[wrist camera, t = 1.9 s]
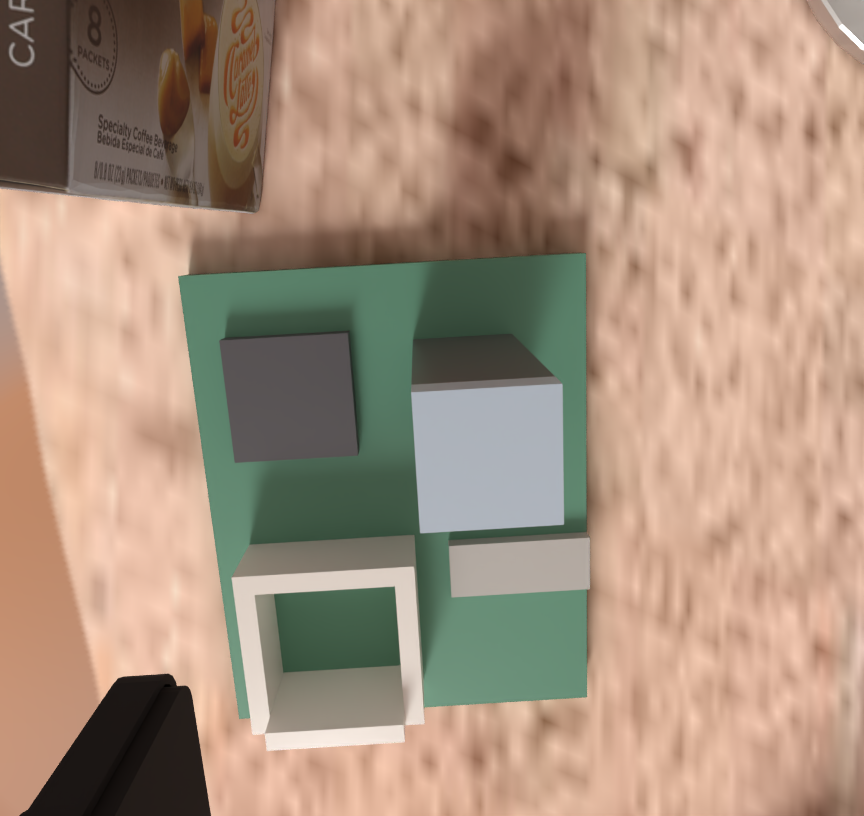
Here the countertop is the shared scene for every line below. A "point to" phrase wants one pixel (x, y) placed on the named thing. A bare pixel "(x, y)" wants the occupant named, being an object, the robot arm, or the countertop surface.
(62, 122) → the coffee box
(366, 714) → the frame
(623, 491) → the countertop surface
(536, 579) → the board
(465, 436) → the plug
